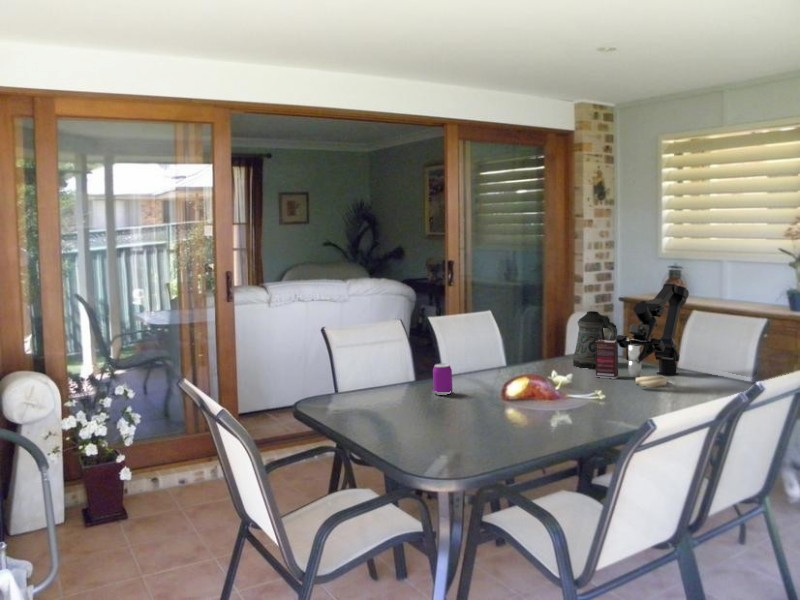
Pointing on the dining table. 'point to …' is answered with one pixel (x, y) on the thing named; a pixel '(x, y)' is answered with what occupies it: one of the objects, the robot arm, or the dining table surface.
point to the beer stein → (591, 338)
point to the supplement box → (606, 359)
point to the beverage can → (442, 377)
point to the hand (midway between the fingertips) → (633, 360)
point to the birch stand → (651, 381)
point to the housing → (634, 360)
